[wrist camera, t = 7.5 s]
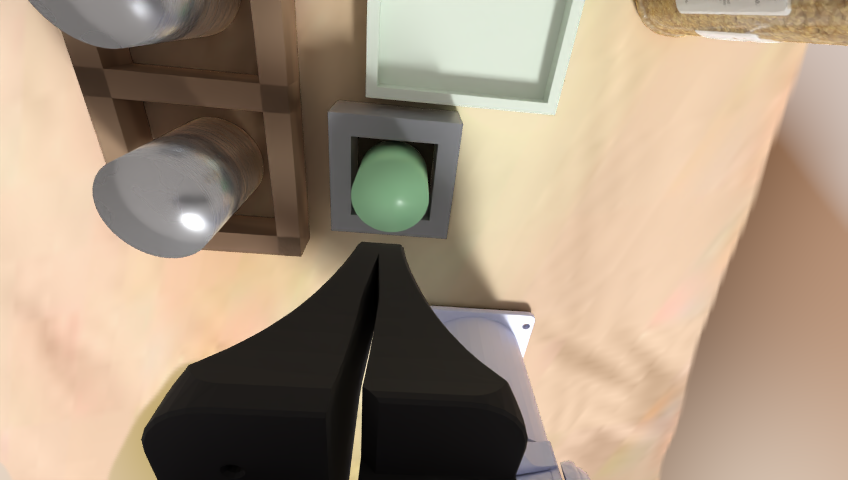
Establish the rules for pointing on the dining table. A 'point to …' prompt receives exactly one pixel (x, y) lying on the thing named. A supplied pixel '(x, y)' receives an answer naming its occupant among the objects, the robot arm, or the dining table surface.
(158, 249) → the seated billet
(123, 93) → the pallet
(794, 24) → the sprinkles bottle
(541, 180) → the dining table surface
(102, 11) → the cylinder
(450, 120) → the grey square frame
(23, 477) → the dining table surface
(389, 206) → the button
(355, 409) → the robot arm
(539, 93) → the pale green square tray
